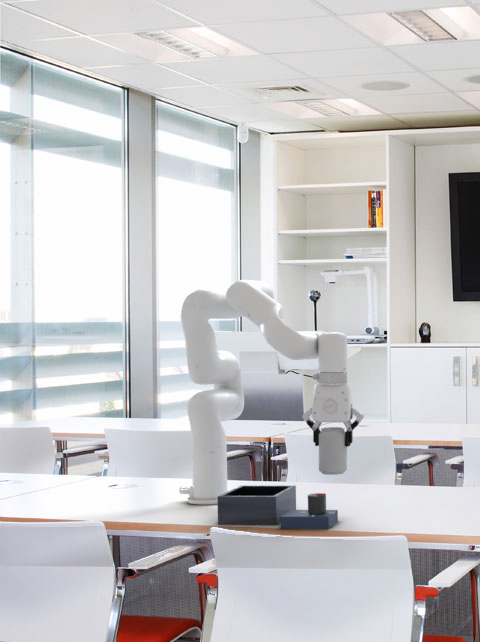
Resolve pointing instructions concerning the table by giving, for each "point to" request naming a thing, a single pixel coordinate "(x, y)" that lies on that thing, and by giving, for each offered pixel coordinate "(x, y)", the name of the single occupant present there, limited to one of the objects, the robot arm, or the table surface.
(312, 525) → the panel
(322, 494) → the tap knob
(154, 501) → the table surface
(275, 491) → the open storage bin
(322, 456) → the can
